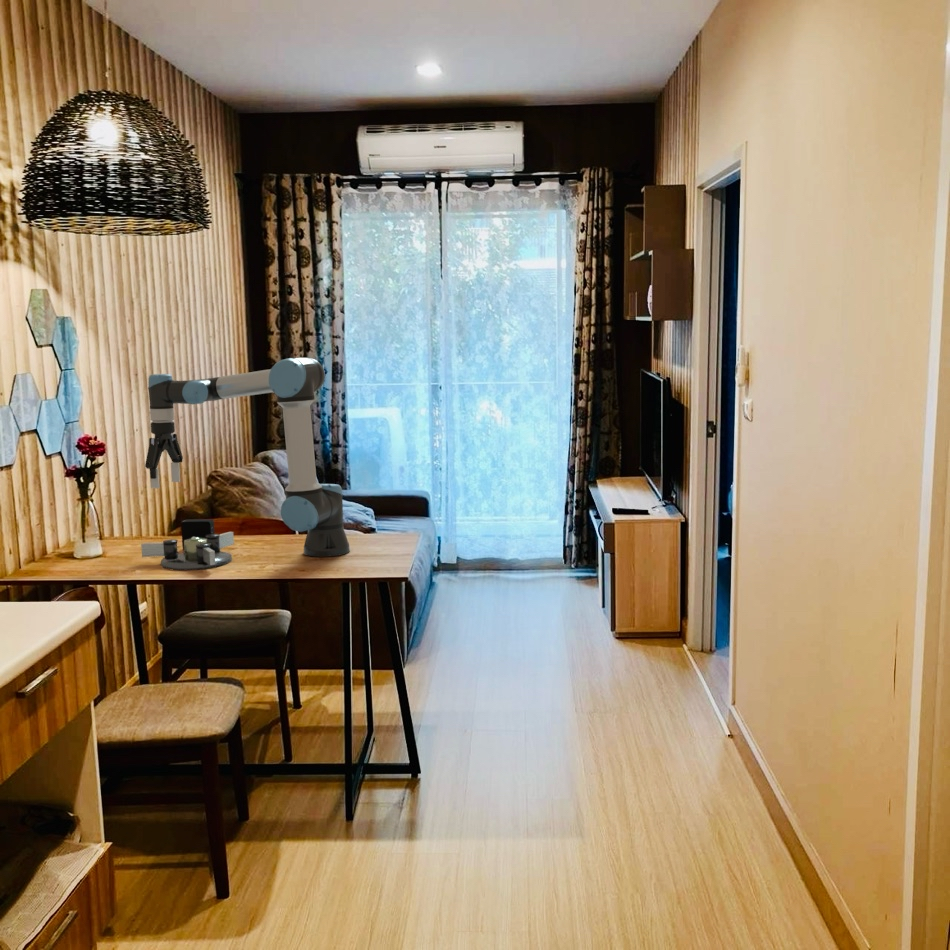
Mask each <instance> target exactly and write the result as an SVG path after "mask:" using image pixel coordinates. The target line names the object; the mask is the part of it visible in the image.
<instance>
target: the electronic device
mask: <svg viewBox="0 0 950 950" xmlns="http://www.w3.org/2000/svg"><path fill="white" fill-rule="evenodd" d="M180 529H181V531H180V532H181V542H182V543H181V545H182V550H183V551H185V548H184V540H186V539H191V538H192V537H199V538H206V535H209V534H215V521H214V519H211V518H203V519H202V518H201V519H200V518H197V519H194V518H193V519H185V520H182V521H181V523H180ZM206 539H207V538H206Z"/></svg>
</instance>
